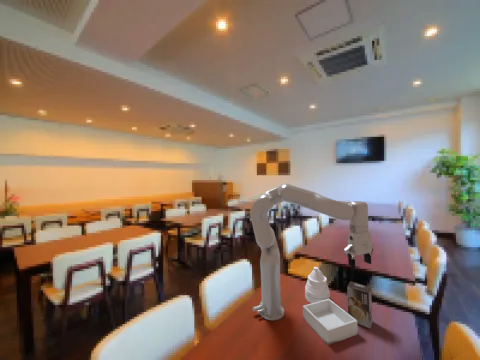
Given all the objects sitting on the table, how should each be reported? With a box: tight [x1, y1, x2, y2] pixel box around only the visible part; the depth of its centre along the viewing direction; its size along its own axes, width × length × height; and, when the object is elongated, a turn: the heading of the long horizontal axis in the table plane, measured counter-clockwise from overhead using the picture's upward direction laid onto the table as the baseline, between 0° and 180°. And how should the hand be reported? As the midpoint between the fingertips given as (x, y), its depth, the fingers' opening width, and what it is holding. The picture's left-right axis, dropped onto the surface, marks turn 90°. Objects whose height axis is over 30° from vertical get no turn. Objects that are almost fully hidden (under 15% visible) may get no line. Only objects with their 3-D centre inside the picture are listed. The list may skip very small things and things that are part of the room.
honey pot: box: [304, 266, 331, 304], centre depth 112 cm, size 13×13×18 cm
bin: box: [302, 299, 359, 346], centre depth 92 cm, size 16×17×6 cm
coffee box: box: [346, 281, 373, 329], centre depth 94 cm, size 9×6×16 cm
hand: (359, 264), depth 94 cm, fingers open, 9 cm apart
